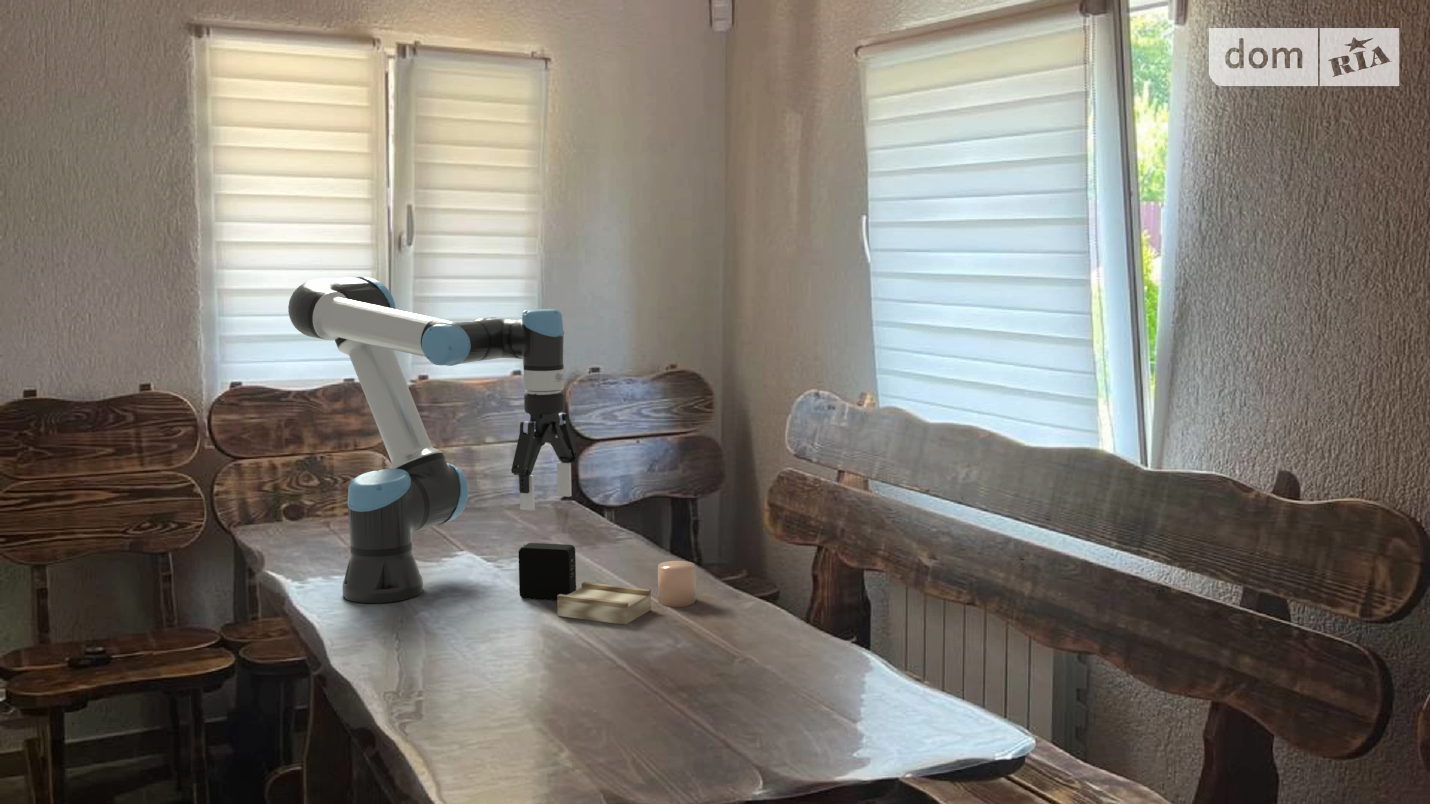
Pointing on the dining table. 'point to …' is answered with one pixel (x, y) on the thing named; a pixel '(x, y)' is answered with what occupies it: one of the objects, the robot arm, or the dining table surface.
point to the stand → (605, 603)
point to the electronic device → (546, 571)
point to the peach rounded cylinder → (676, 583)
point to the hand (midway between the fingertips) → (546, 502)
